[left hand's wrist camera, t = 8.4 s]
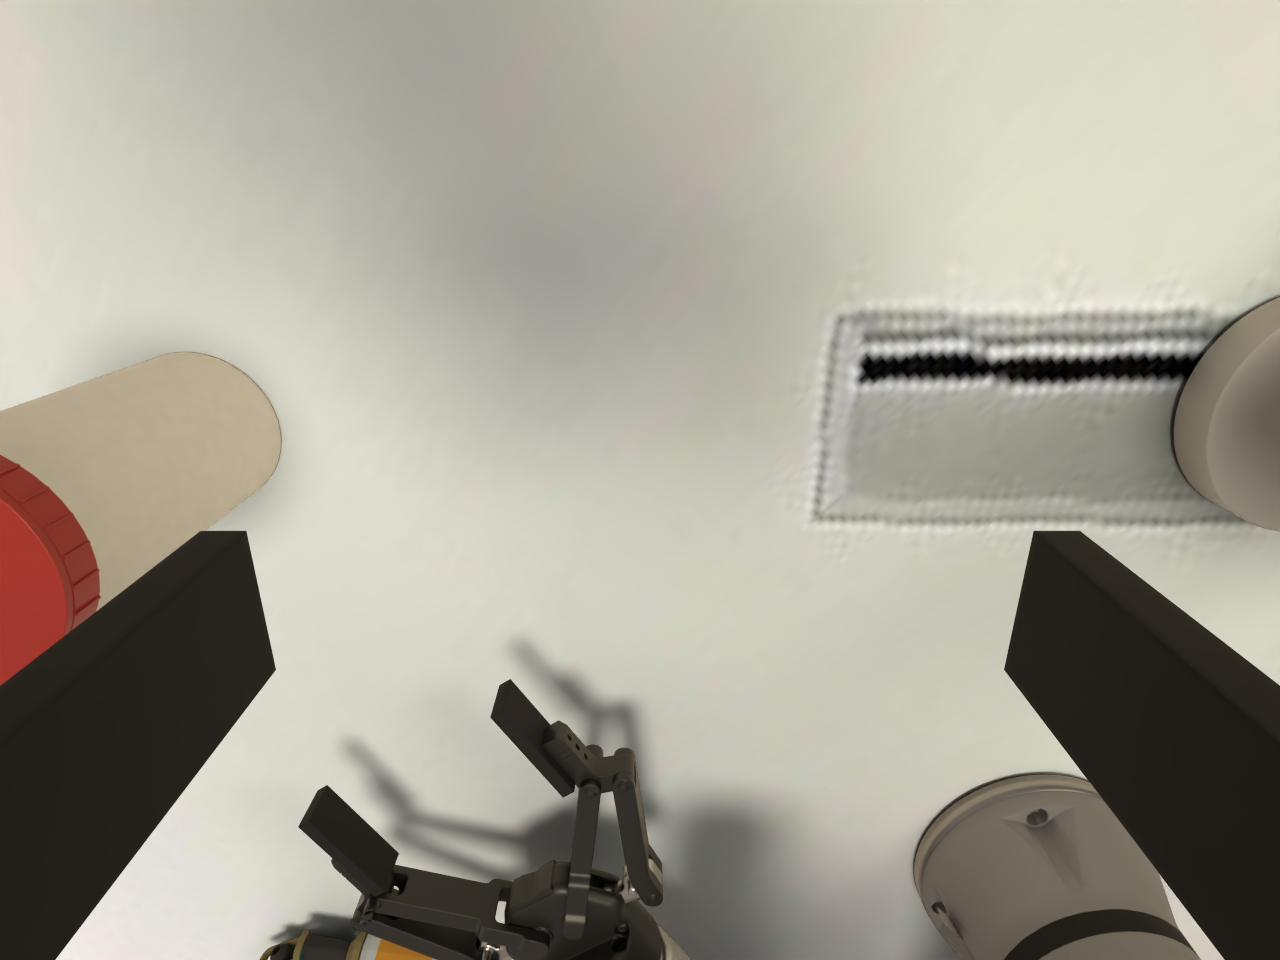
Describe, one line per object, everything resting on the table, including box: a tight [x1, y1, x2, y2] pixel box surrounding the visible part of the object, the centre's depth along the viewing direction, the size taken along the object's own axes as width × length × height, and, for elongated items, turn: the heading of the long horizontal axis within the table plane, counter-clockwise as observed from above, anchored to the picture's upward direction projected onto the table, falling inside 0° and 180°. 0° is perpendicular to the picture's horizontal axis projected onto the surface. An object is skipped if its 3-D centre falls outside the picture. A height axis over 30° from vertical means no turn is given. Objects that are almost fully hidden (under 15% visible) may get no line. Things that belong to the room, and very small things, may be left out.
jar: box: [0, 352, 281, 611], centre depth 33 cm, size 9×9×17 cm
